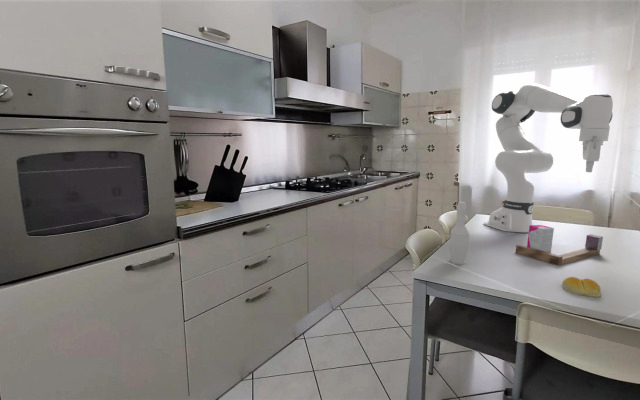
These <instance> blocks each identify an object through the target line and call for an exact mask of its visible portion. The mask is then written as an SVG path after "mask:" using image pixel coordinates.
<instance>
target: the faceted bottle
mask: <svg viewBox="0 0 640 400" xmlns="http://www.w3.org/2000/svg"><path fill="white" fill-rule="evenodd" d="M467 210H468V207H467V203H466V201H458V203H457V205H456V221H455V223H456V224H455V225H454V226H453V227H452V228H451V230H450V234H449V235H450V236H449V251H450V262H451V263H452V264H454V265H464V264H465V262H466V259H467V254H468V249H469V242H470V232H469V230H468V228H467V227H466V216H467Z"/></svg>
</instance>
